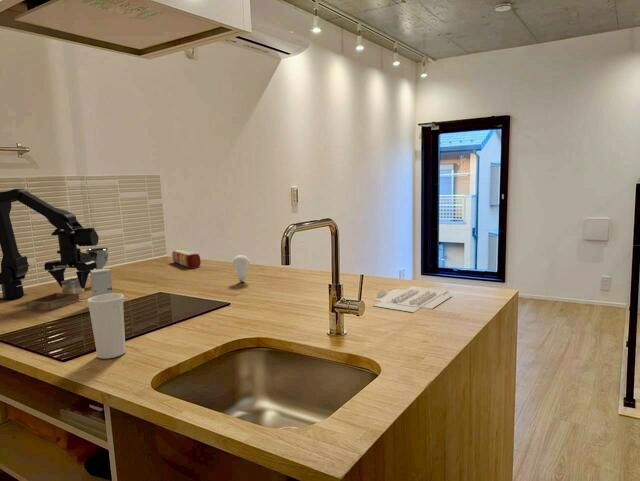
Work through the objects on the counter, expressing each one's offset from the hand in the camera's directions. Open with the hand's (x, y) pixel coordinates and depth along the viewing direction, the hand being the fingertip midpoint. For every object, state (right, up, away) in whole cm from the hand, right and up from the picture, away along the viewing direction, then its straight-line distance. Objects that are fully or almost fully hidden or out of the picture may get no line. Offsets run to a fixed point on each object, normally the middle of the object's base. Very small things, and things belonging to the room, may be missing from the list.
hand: (73, 288), depth 168 cm
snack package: (+26, +5, +53) cm, 60 cm away
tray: (+123, -2, -21) cm, 124 cm away
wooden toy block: (0, -3, 0) cm, 3 cm away
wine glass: (+3, -1, +15) cm, 15 cm away
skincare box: (+18, -4, -14) cm, 23 cm away
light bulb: (+61, +1, +11) cm, 62 cm away
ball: (-6, 0, +16) cm, 17 cm away
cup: (+42, -10, -59) cm, 73 cm away
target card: (+6, -3, -3) cm, 8 cm away
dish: (-6, -1, +16) cm, 17 cm away
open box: (0, -5, -12) cm, 13 cm away
